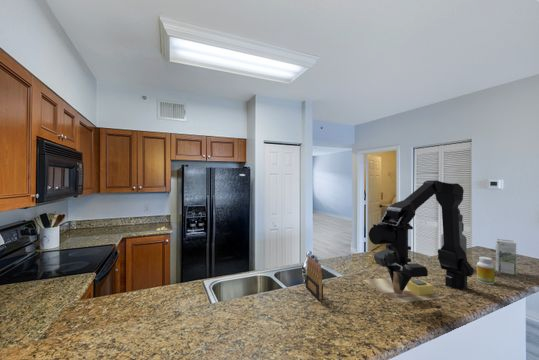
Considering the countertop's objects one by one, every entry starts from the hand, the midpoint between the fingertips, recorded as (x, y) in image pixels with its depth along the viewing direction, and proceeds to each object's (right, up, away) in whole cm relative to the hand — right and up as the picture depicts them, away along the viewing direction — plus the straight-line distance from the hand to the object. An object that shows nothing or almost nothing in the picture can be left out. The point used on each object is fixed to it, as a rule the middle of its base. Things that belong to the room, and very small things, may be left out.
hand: (398, 288), depth 84 cm
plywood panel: (+4, -4, +6) cm, 8 cm away
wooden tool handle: (0, -2, 0) cm, 2 cm away
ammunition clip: (-28, -3, +3) cm, 29 cm away
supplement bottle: (+44, -5, +16) cm, 47 cm away
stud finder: (+10, -3, +3) cm, 10 cm away
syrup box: (+63, -5, +27) cm, 68 cm away
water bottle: (+45, -5, +34) cm, 56 cm away
